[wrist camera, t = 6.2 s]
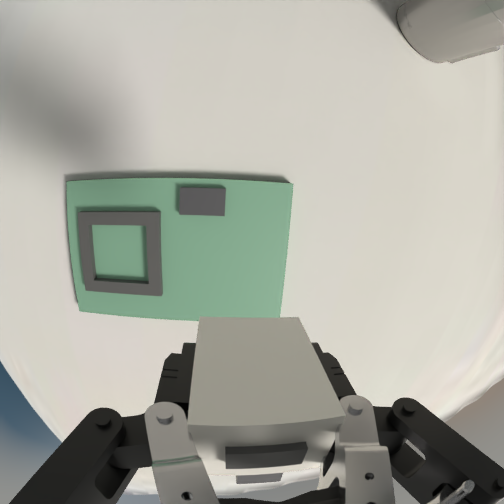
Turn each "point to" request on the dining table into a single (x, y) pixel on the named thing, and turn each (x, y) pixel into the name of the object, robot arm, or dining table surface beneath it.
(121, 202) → the board
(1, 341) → the dining table surface
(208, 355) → the plug
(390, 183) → the dining table surface
